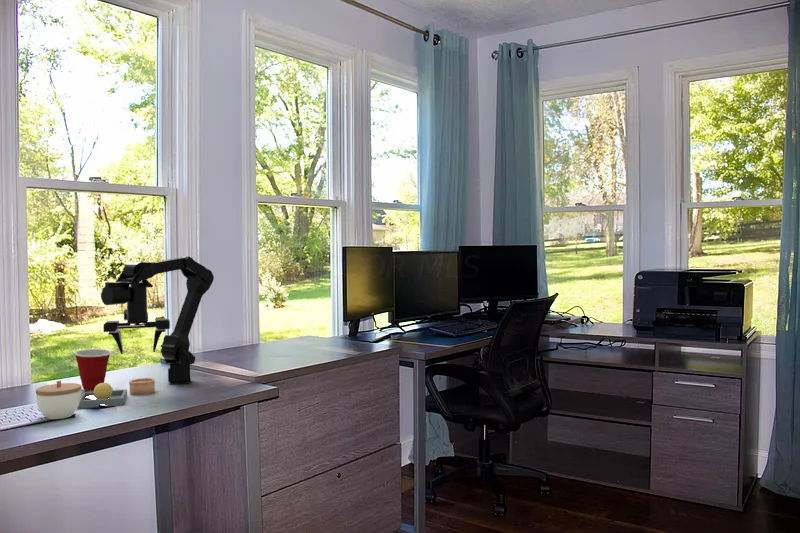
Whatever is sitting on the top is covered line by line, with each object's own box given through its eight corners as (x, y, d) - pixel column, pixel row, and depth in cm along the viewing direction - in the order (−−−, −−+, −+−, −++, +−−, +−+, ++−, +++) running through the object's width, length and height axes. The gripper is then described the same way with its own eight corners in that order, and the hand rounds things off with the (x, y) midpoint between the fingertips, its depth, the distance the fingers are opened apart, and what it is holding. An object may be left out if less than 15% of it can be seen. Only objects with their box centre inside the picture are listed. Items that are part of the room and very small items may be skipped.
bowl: (155, 388, 203) (155, 377, 202) (154, 393, 196) (154, 381, 196) (130, 390, 200) (130, 379, 200) (128, 395, 193) (128, 383, 193)
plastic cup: (94, 393, 197) (93, 354, 197) (66, 391, 200) (65, 353, 200) (120, 386, 207) (119, 349, 207) (93, 384, 210) (92, 347, 210)
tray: (127, 395, 193) (127, 389, 193) (123, 405, 182) (123, 398, 181) (83, 399, 189) (83, 392, 189) (76, 408, 178) (76, 401, 178)
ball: (113, 397, 188) (113, 380, 188) (111, 401, 184) (111, 384, 184) (94, 398, 187) (94, 381, 187) (92, 402, 182) (92, 384, 182)
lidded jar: (50, 423, 163) (49, 387, 162) (28, 418, 168) (27, 382, 168) (90, 414, 172) (89, 379, 172) (67, 409, 178) (66, 375, 177)
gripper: (169, 299, 208) (170, 347, 209) (107, 301, 202) (108, 351, 203) (168, 302, 198) (169, 352, 198) (102, 304, 192) (103, 356, 192)
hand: (138, 353), depth 198 cm, fingers open, 9 cm apart
